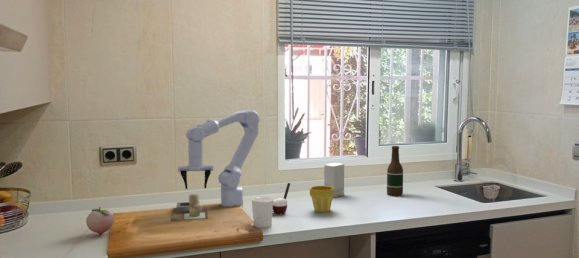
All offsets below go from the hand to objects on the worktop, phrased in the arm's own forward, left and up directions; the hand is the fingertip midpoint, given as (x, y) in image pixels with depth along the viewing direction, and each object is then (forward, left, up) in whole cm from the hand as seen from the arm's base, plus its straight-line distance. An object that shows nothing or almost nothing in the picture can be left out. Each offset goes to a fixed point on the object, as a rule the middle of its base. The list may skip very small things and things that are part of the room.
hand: (195, 188), depth 188 cm
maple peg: (+1, +11, -9) cm, 14 cm away
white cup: (-24, +25, -11) cm, 36 cm away
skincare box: (-66, -17, -11) cm, 69 cm away
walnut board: (+3, +6, -10) cm, 12 cm away
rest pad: (+1, +11, -9) cm, 15 cm away
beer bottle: (-95, -11, -11) cm, 97 cm away
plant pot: (-52, +9, -11) cm, 54 cm away
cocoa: (-34, +9, -11) cm, 37 cm away
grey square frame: (+4, +1, -9) cm, 10 cm away
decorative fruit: (+34, +23, -11) cm, 42 cm away
